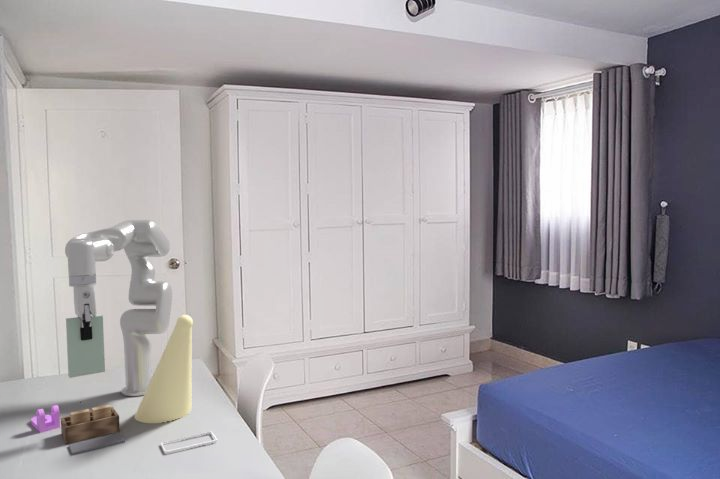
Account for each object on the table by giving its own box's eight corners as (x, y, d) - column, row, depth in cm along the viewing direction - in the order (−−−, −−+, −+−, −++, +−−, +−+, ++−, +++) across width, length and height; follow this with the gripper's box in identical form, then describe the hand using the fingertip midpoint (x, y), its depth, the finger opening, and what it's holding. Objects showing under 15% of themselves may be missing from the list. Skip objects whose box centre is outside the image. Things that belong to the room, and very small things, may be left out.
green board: (103, 369, 173) (101, 314, 172) (105, 371, 171) (102, 315, 170) (68, 375, 168) (65, 318, 166) (69, 377, 166) (67, 319, 164)
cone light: (123, 415, 182) (119, 313, 180) (170, 399, 197) (166, 304, 195) (168, 432, 168) (164, 321, 166) (214, 413, 183) (211, 311, 181)
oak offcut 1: (89, 434, 168) (88, 408, 167) (90, 436, 165) (89, 411, 165) (71, 438, 165) (70, 412, 164) (72, 441, 163) (71, 415, 162)
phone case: (165, 456, 153) (218, 444, 160) (164, 451, 152) (217, 439, 160) (160, 446, 159) (211, 435, 166) (160, 442, 159) (211, 430, 166)
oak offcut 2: (110, 429, 171) (109, 404, 171) (112, 431, 169) (110, 406, 168) (93, 433, 168) (91, 408, 168) (94, 435, 166) (93, 410, 166)
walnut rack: (113, 421, 177) (112, 407, 176) (119, 431, 169) (119, 415, 169) (61, 433, 168) (60, 418, 168) (65, 444, 160) (64, 427, 160)
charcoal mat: (119, 434, 167) (119, 432, 167) (124, 442, 161) (124, 440, 161) (68, 446, 159) (68, 444, 159) (72, 455, 153) (72, 453, 153)
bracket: (60, 427, 173) (59, 406, 173) (40, 433, 169) (39, 411, 169) (47, 417, 182) (46, 396, 182) (28, 422, 178) (27, 401, 178)
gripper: (100, 282, 163) (103, 342, 164) (91, 276, 176) (94, 332, 177) (73, 284, 159) (76, 346, 160) (65, 278, 172) (68, 335, 173)
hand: (85, 338), depth 169 cm, fingers closed on green board, 2 cm apart
